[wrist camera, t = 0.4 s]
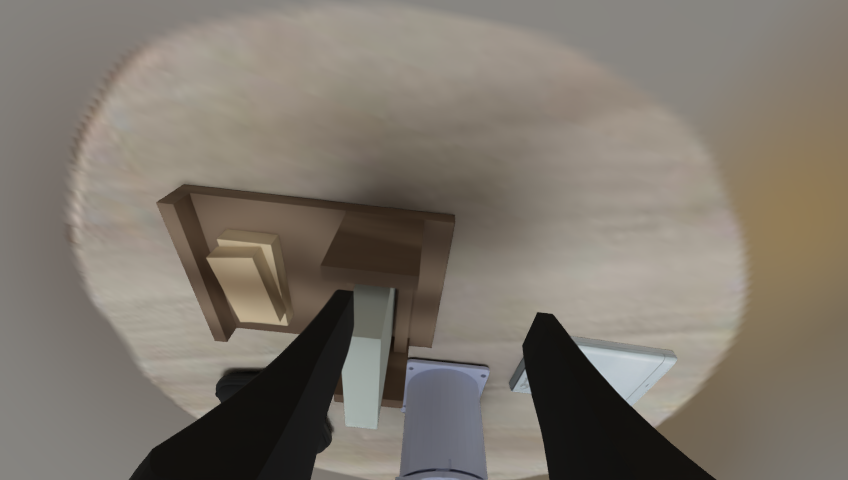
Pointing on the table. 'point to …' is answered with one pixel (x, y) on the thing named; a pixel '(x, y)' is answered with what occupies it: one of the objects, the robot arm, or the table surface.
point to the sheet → (368, 355)
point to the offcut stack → (253, 276)
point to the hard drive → (616, 367)
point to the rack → (320, 261)
